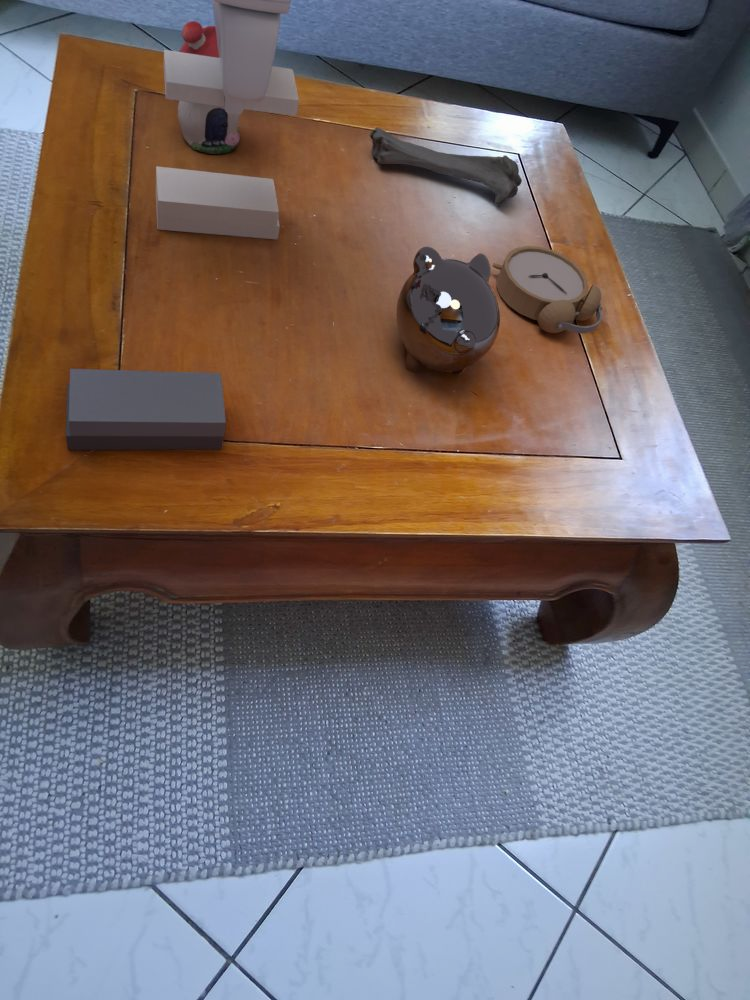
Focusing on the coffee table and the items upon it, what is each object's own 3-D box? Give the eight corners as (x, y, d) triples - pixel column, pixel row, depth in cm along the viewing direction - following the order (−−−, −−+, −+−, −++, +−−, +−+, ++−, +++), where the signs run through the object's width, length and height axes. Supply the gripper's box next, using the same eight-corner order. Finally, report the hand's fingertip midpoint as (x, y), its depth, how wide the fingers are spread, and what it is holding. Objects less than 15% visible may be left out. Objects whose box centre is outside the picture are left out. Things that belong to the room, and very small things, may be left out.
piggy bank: (463, 309, 94) (498, 234, 85) (486, 405, 86) (528, 334, 77) (376, 300, 91) (403, 221, 82) (392, 398, 83) (424, 323, 74)
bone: (512, 189, 111) (530, 152, 106) (512, 216, 107) (530, 179, 102) (367, 143, 108) (378, 102, 103) (361, 169, 104) (372, 128, 99)
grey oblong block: (157, 229, 88) (157, 200, 85) (155, 195, 91) (156, 166, 88) (277, 239, 92) (282, 212, 89) (272, 206, 95) (276, 179, 92)
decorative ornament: (176, 154, 96) (181, 32, 84) (166, 122, 99) (169, -1, 86) (248, 156, 99) (263, 39, 87) (236, 124, 102) (249, 7, 90)
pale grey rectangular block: (165, 99, 74) (166, 81, 73) (163, 67, 77) (164, 49, 76) (296, 116, 78) (299, 100, 77) (290, 85, 81) (292, 68, 80)
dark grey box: (67, 450, 70) (63, 421, 66) (68, 398, 73) (65, 368, 69) (222, 449, 74) (226, 422, 71) (217, 401, 77) (221, 372, 74)
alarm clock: (542, 236, 101) (630, 295, 95) (531, 268, 105) (615, 327, 98) (484, 258, 96) (573, 322, 89) (475, 291, 99) (560, 355, 93)
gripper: (200, -125, 70) (193, 28, 82) (215, -9, 60) (204, 148, 72) (268, -110, 72) (251, 38, 84) (294, 5, 62) (271, 156, 74)
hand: (230, 90), depth 78 cm, fingers closed on pale grey rectangular block, 5 cm apart
